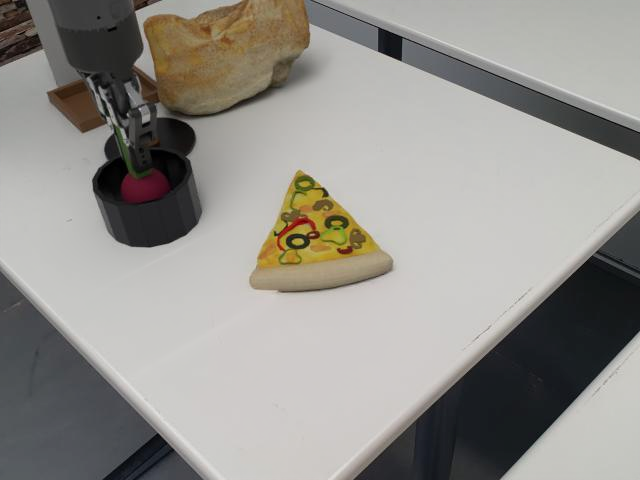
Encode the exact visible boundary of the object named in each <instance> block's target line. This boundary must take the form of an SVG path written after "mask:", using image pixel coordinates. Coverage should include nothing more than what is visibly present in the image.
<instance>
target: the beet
mask: <svg viewBox="0 0 640 480" xmlns="http://www.w3.org/2000/svg"><path fill="white" fill-rule="evenodd" d="M115 129H116V132H117V135H118V138H119V142H120V145H121V148H122V151H123V155H124V158H125V161H126V164H127V168H128V171H129V173H128V174H127V175H126V176H125V178H124V180H123V182H122V185H121V195H122V199H123V201H124V202H128V203H139V202H144V201H149V200H153V199H157V198H159V197H161V196H163V195H165V194H167V193H170V192H172V191H171V188H170V185H169V182H168V180H167V178H166V177H165V176H164V175H163V174H162V173H161V172H160V171H158V170H156V169H154V168H151V169H149V170H147V171H145V172H142V173H140V174H137V173H136V172H135V171H134V170H133V169H132V165H131V162H130V159H129V156H128V152H127V149H126V146H125V143H124V141H123V137H122V134H121V131H120V128H119V127H118V126H116V125H115ZM128 130H129V126H128Z"/></svg>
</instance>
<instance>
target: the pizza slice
mask: <svg viewBox="0 0 640 480" xmlns="http://www.w3.org/2000/svg"><path fill="white" fill-rule="evenodd" d="M393 263H394V259H393V258H392V256H391V255H390V254H389V253H388V252H386V251H384V250H383V249H381V248H380V245H379V244H378V243H377V242H376V241H375V240H374V238H373V237H372V236H371V234H370V233H369V232H368V231H366V230H365V229H364V228H363V227H361V225H360V224H359V223H358V222H357V221H356V220H355V219H354V217H353V216H352V215H351V214H350V212H348V211H347V210H346V209H345V208H344V207H343V206H342V205H340V204H339V203H338V202H337V201H336V200H335V199H334V198H333V197H332V196H331V195H330V193H329V191H328V190H327V188H325V187H322V185H321V184H320V183H319V182H317V180H315V179H314V178H313V177H312V176H310V175H309V174H306V172H304V171H303V170H301V169H298V170H297V171H296V172H295V174H294V176H293V179H292V180H291V182H290V184H289V186H288V188H287V191H286V192H285V195H284V199H283V202H282V206H281V209H280V211H279V213H278V215H277V218H276V221H275V224H274V225H273V227H272V228H271V230H270V232H269V234H268V236H267V238H266V240H265V241H264V242H263V244H262V246H261V248H260V250H259V253H258V256H257V257H256V266H255V268H254V270H252V273H251V274H250V276H249V285H250V287H251V288H252V289H254V290H258V291H277V292H301V291H313V290H323V289H330V288H337V287H340V286H345V285H348V284H352V283H356V282H360V281H364V280H368V279H372V278H374V277H378V276H381V275H383V274H386V273H387V272H388V271H390V270H392V268H393V265H394V264H393Z"/></svg>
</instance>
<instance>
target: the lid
mask: <svg viewBox="0 0 640 480" xmlns="http://www.w3.org/2000/svg"><path fill="white" fill-rule="evenodd" d="M143 101H144V103H147V102H148V101H147V100H143ZM114 133H115V132H114ZM114 133H111V135H110V136H109V137H108V139H107V140H106V142H105V144H104V148H103V151H104V155H105V158H106V161H108V160H109V159H111V158H112V157H115V156H117V155H119V154H120V151H119V148H118V145H117V142H116V139H115V135H114ZM196 141H197V136H196V132H195V130H194V128H193V127H192V126H191V125H190V124H189V123H187V122H185V121H183V120H181V119H177V118H173V117H167V116H166V117H164V116H161V117H159V116H157V124H156V140H154V141H152V142H148V147H166V148H169V149H173V150H176V151H179V152H181V153H182V154H183V155H184V156H186V157H187V156H188V155H189V154H190V153H191V152H192V151H193V149H194V147H195V146H196V143H197V142H196Z"/></svg>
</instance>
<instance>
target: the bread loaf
mask: <svg viewBox="0 0 640 480" xmlns="http://www.w3.org/2000/svg"><path fill="white" fill-rule="evenodd" d="M305 3H306V2H305V1H304V0H241V1H239V2H237V3H235V4H232V5H225V6H218V7H217V8H213V9H209V10H206V11H204V12H202V13H199V15H197V16H195V17H192V18H191V17H190V18H189V19H188V18H184V17H182V16H180V15H177V14H173V13H159V14H155V15H151V16H148V17H147V18H146V19H145V20H144V22H143V23H142V27H143V33H144V36H145V39H146V41H147V44H148V47H149V51H150V55H151V59H152V62H153V70H154V76H155V81H156V82H157V91H158V96H159V99H160V101H161V102H160V103H161V105H162V106H163V107H164V108H165V109H166V110H170V111H177V112H180V113H182V114H185V115H190V116H194V115H195V116H196V115H212V114H216V113H219V112H222V111H225V110H227V109H229V108H231V107H232V106H234V105H236V104H238V103H239V102H241V101H244V100H246V99H250V98H252V97H254V96H256V95H257V94H258V93H261V92H263V91H265V90H267V89H268V88H277V87H279V86H282V85H283V84H284V83H286V81H287V78H288V76H289V74H290V70H291V68H292V65H293V63H294V62H295V61H296V60H298V59H299V58H300V57H301V55H302V53H303V52H304V51H305V50H306V49H308V48H309V46H310V43H311V32H310V21H309V16H308V12H307V8H306V4H305Z"/></svg>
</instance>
